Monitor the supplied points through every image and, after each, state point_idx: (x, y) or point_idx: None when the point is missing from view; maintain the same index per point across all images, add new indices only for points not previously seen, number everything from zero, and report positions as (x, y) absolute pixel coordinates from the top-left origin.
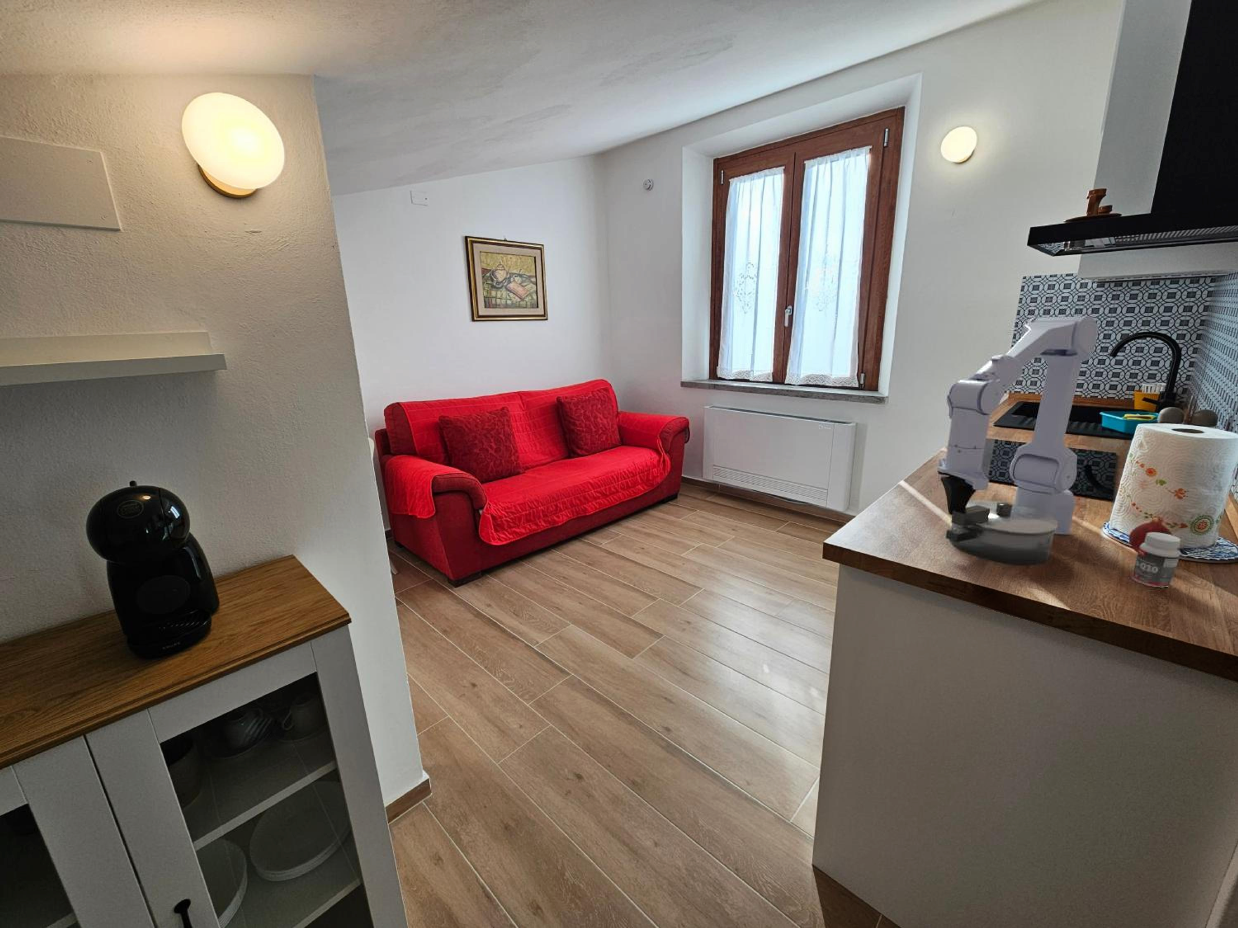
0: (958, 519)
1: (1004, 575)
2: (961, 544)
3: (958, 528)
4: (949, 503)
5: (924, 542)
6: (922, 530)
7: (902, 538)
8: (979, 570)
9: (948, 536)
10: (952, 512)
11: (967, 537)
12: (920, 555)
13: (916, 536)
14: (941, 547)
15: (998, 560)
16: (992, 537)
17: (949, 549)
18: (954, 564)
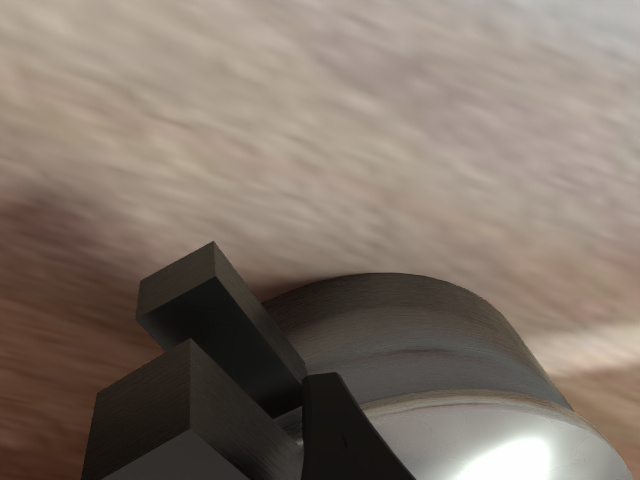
0: (138, 404)
1: (8, 375)
2: (304, 308)
3: (264, 352)
4: (325, 448)
5: (401, 140)
6: (572, 187)
7: (468, 20)
8: (34, 294)
9: (197, 261)
10: (304, 402)
11: None
12: (182, 41)
13: (493, 124)
14: (330, 209)
15: None
16: None
17: (305, 240)
18: (82, 200)
